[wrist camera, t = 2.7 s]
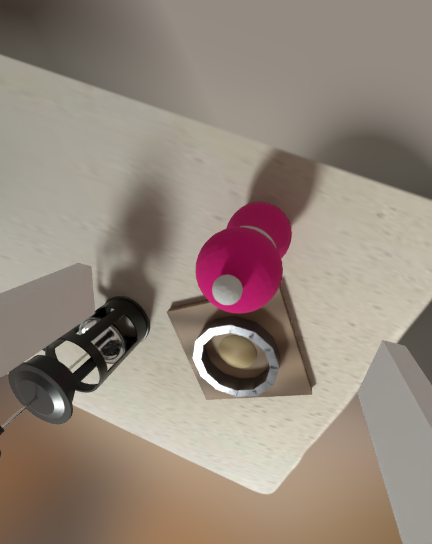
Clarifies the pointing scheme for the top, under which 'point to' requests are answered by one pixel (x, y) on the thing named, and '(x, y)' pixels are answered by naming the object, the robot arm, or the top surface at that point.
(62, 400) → the french press
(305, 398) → the top surface
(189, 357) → the collar plate
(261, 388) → the iron collar
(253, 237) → the pepper mill
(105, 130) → the top surface
